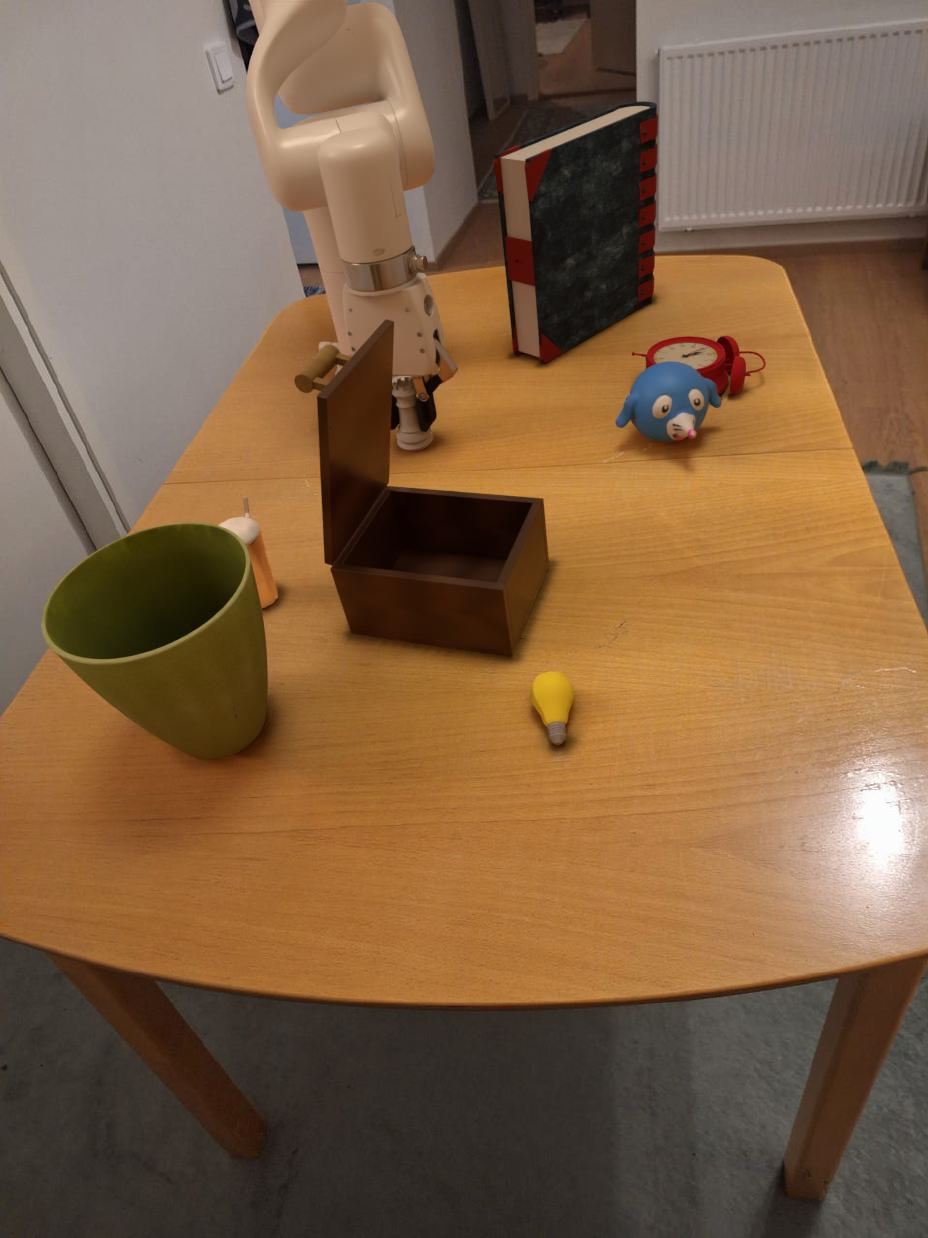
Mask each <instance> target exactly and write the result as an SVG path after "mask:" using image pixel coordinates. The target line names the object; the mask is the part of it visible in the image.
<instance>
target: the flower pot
mask: <svg viewBox="0 0 928 1238" xmlns="http://www.w3.org/2000/svg"><path fill="white" fill-rule="evenodd" d="M218 525H219V524H218ZM218 525H217V524H213V523H208V522H199V521H182V522H172V523H165V524H160V525H156V526H151V527H148V528H144V529H141V530H138V531H134V532H132V533H130V534H126V535H125V536H122V537H120V538H118V539H115V540H114V541H111V542H110V543H107V544H106V545H104V546H102V547H100V548H99V549H97V550H95V551H94V552H92V553H91V554H89V555H88V556H86V557H85V558H84V559H82V560H81V561H79V562H78V563H77V564H76V565H75V566H73V568H71V569H70V570H68V572H67V573H66V574H65V575H64V576H63V577H62V578H61V579H60V580H59V582H58V583H57V584H56V585H55V586H54V588H53V590H52V591H51V592H50V594H49V596H48V598H47V600H46V602H45V605H44V608H43V612H42V616H41V621H40V622H41V624H40V626H41V627H40V628H41V633H42V637H43V640H44V641H45V643H46V645H47V646H48V647H49V648H50V649H51V650H52V652H54V653H55V655H56V656H57V657H59V658H60V660H62V662H63V663H64V664H66V666H67V667H69V669H71V671H72V672H74V674H75V675H77V677H79V679H81V680H82V681H83V682H84V683H85V684H86V685H87V686H88V687H90V689H92V690H93V691H94V692H95V693H96V694H97V695H99V696H100V697H101V698H102V699H103V700H105V702H107V703H108V705H110V706H112V707H113V708H114V709H116V710H117V711H118V712H119V713H121V714H122V715H124V716H125V717H126V718H127V719H129V720H130V721H131V722H133V723H135V724H136V725H137V726H139V727H141V729H143V730H145V731H147V732H148V733H149V734H150V735H152V736H154V737H156V738H157V739H159V740H160V741H162V742H164V743H166V744H167V745H169V746H171V747H173V748H175V749H177V750H178V751H180V752H182V753H184V754H186V755H188V756H190V757H192V758H194V759H197V760H202V761H217V760H223V759H226V758H229V757H232V756H234V755H236V754H238V753H239V752H241V751H243V750H244V749H246V748H248V746H250V745H251V744H252V743H253V742H254V741H255V740H256V739H257V738H258V736H259V735H260V734H261V732H262V730H263V728H264V725H265V723H266V718H267V709H268V686H269V685H268V684H269V679H268V678H269V675H268V674H269V673H268V670H269V669H268V649H267V637H266V629H265V622H264V621H265V620H264V615H263V608H261V603H260V598H259V593H258V589H257V584H256V579H255V575H254V571H253V567H252V563H251V559H250V555H249V551H248V549H247V546H246V545H245V543H244V542H243V540H242V539H241V538H240V537H239V536H238V535H236V534H235V533H234V532H232V531H230V530H228V529H226V528H223V527H221V526H218Z"/></svg>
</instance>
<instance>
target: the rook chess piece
mask: <svg viewBox="0 0 928 1238" xmlns="http://www.w3.org/2000/svg"><path fill="white" fill-rule="evenodd" d="M404 379H405V381H401V378H399V379H397V383H396V381H394V382H393V389H392V395H393V396H395V397H396V398H397V402H396V406H398V409H399V419H400V422H399V425H398V426H397V430H396V433H395V436H396V439H397V440H396V443H397V446H398V447H400V448H401V449H402V450H403V451H406V452H418V451H419V452H420V451H422V450H424V449H427V448H428V447H429V446H430V445H431V444H432V442H433V440H434V435H433V433H432V428H431V427H430V428H429V429H428V431H427V432H422V431H421V430H420V426H419V421H418V416H417V411H416V406H415V402H416V400H417V399H418V395H417V392H416V389H415V386H414V383H413V380H412V378H410V381H409V377H404Z"/></svg>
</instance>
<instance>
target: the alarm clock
mask: <svg viewBox="0 0 928 1238" xmlns="http://www.w3.org/2000/svg"><path fill="white" fill-rule="evenodd" d="M741 354H751V355H756V356H758V357H759V358H760V359H761V360H762V362H763V365H762V366H761V367H760V368H757V369H753V370H748V371H747V361H746V359H745V358H744V357H743V356H741ZM631 356H632V357H633V356H639V357H640V356H641V357H644V358H645V368H644V370H646V369H647V368H649V367H651V366H653V365H655V364H658V363H661V362H669V361H673V362H681V363H684V364H687V365H689V366H691V367H693V368H694V369H695V370H697V371H698V372H699V374H700V375H701V376H702V377H704V378H706V379H710V380H712V381H713V382H714V383H715V384H716V387H717V393H718V395H720V394H721V393H723V392H724V391H725V390H726V389H727V387H728V385H729V391H728V393H729V394H737V393H740V391H741V390H742V389H743V387H744V385H745V380H746V377H751V376H752V374H755V373H758V372H760V371H763V370H764V369H765V367H766V365H767V364H766V363H767V362H766V359H765V358H764V356H763V355H762V354H760V353H759V352H758V351H757V352H756V351H752V350H744V351H743V350H740V346H739V344H738V342H737V341H736V340H735V338H734V337H732V336H729V335H722V336H720V337H718V338H717V340H714V339H711V338H708V337H703V336H702V337H701V336H695V335H693V336H691V335H689V336H687V335H686V336H676V337H675V336H674V337H671V338H667V339H662V340H661V341H658V342H656V343H654V344H653V345H651V346H650V347H649V349H648V350H647V352H646V353H637V352H635V351H632V352H631ZM728 372H729V373H730V372H731V373H730V378H729V374H728Z"/></svg>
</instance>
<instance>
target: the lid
mask: <svg viewBox="0 0 928 1238" xmlns="http://www.w3.org/2000/svg"><path fill="white" fill-rule="evenodd" d="M393 341H394V321H391V320H387V319H385V320H384V321H383V322H382V324H381V325H380V326H379V327H378V328H377V329H376V330H375V331H374V333H373V334H372V335H371V336H370V337H369V338H368V339H367V340H366V341H365V343H364V344H363V345H362V346H361V347H360V348H359V349H358V350H357V352H356V353H355V354H354V355H353V356H352V357H351V356H348V355H344V354H340V352H339V350H338V349H337V348H336V347H335V346H333V345H330V344H329V345H325V346H324V347H323V348H322V349H321V350H320V351H319V350H318V352H317V353H316V354H315V355H314V356H313V357H312V358H311V359H310V360H309V361H308V362H307V363H306V365H304V367H302V368H301V369H300V371H299V372H298V373H297V374H296V375H295V376H294V379H293V382H294V386H295V387H296V389H298V390H299V392H300V393H303V394H309V393H312V392H313V390H316V391H319V392H318V394H317V395H316V405H317V406H316V411H317V430H318V432H317V433H318V450H319V451H318V452H319V453H318V454H319V455H318V456H319V472H320V494H321V495H320V496H321V498H320V499H321V517H322V519H321V520H322V537H323V538H322V539H323V559H324V560H323V561H324V564H326V565H328V566H331V567H332V566H333V564H334V563H335V561H336V560H337V559H338V557H339V556H340V554H341V553H342V551H343V550H344V548H345V547H346V545H347V544H348V542H349V541H350V539H351V538H352V536H353V535H354V533H355V532H356V530H357V529H358V528H359V526H360V525H361V523H362V522H363V520H364V519H365V517H366V516H367V514H368V513H369V511H370V510H371V508H372V507H373V505H374V504H375V502H376V501H377V500H378V498H379V497H380V495H381V494H382V492H383V491H384V489H385V488H386V486H389V483H390V463H391V433H392V432H391V431H392V430H391V404H392V373H393ZM337 365H340V366H343V367H342V368H341V369H340V371H339V372H338V373H337V374H336V375H335V374H334V376H333V377H332V378H331V379H330V380H329V379H325V377H326V376H327V375H328V374H329V373H330V372H331V371H332V370H333V369H334V368H335V366H337Z"/></svg>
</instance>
